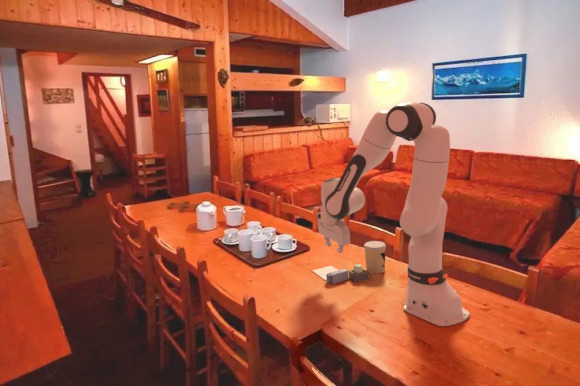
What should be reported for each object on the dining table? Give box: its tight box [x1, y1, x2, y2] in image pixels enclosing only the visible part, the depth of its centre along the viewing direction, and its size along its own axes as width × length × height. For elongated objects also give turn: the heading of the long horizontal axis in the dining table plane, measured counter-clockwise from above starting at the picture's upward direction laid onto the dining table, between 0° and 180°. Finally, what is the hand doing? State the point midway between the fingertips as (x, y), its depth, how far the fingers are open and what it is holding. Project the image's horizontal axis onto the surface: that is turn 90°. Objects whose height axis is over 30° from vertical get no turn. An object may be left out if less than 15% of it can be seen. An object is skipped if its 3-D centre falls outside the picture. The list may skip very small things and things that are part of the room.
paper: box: [311, 265, 338, 281], centre depth 178 cm, size 12×10×1 cm
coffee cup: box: [363, 240, 387, 274], centre depth 176 cm, size 9×9×12 cm
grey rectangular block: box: [326, 268, 349, 285], centre depth 169 cm, size 9×3×4 cm, turn 115°
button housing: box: [348, 268, 370, 283], centre depth 170 cm, size 6×6×3 cm
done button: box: [353, 263, 364, 274], centre depth 170 cm, size 4×4×4 cm
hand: (334, 249), depth 167 cm, fingers open, 8 cm apart
